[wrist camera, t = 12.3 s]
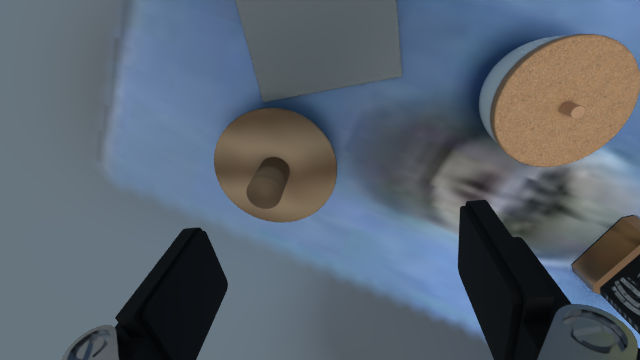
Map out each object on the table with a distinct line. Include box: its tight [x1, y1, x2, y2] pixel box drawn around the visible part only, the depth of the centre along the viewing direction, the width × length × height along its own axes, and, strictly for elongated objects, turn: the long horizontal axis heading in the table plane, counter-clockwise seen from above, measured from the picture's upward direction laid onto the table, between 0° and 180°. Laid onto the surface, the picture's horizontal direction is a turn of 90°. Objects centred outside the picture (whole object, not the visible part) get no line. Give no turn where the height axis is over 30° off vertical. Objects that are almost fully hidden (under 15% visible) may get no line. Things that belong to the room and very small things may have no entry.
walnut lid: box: [214, 108, 337, 222], centre depth 31 cm, size 13×13×6 cm
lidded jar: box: [479, 34, 640, 167], centre depth 28 cm, size 11×11×9 cm
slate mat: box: [235, 0, 402, 102], centre depth 30 cm, size 15×15×1 cm
